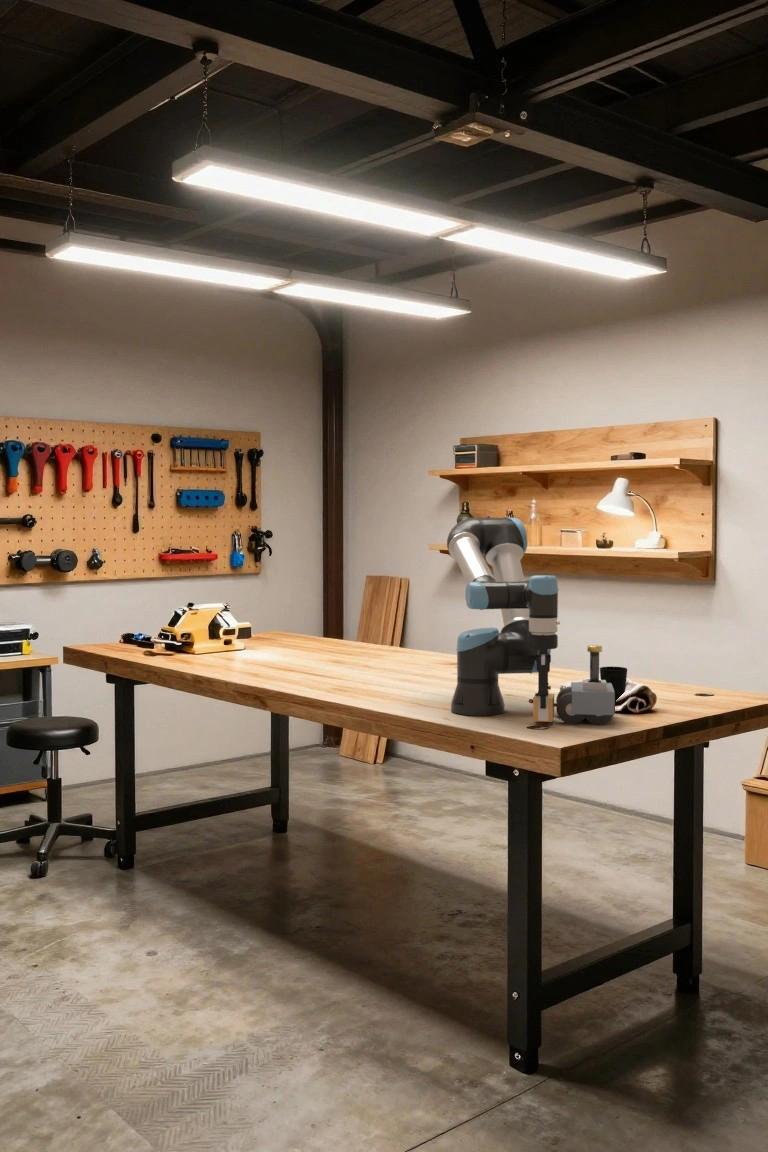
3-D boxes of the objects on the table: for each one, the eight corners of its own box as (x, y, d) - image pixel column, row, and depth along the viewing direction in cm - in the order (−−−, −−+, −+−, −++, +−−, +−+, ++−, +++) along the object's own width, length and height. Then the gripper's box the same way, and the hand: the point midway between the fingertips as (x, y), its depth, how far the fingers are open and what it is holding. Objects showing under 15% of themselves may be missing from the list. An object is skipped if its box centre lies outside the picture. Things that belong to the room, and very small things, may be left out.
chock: (533, 721, 271) (533, 698, 271) (535, 715, 280) (535, 693, 279) (552, 721, 270) (552, 699, 270) (554, 715, 279) (554, 693, 278)
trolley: (556, 725, 271) (556, 683, 271) (556, 713, 287) (556, 674, 287) (614, 726, 269) (614, 684, 268) (611, 715, 285) (611, 675, 284)
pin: (587, 689, 273) (587, 646, 272) (587, 687, 276) (587, 645, 276) (602, 689, 272) (602, 647, 272) (601, 687, 276) (601, 645, 275)
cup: (623, 707, 296) (623, 666, 296) (630, 712, 289) (630, 670, 288) (596, 708, 296) (596, 666, 296) (603, 712, 289) (603, 670, 288)
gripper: (557, 637, 262) (557, 725, 263) (557, 629, 284) (557, 710, 285) (528, 637, 264) (528, 724, 265) (530, 629, 285) (530, 709, 286)
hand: (543, 717), depth 275 cm, fingers closed on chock, 9 cm apart
